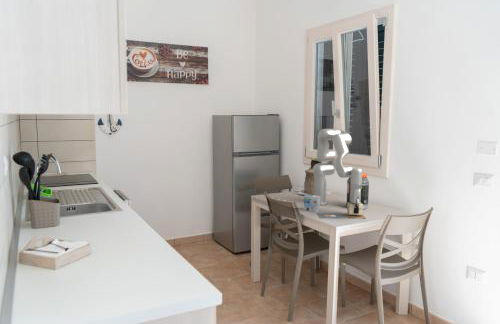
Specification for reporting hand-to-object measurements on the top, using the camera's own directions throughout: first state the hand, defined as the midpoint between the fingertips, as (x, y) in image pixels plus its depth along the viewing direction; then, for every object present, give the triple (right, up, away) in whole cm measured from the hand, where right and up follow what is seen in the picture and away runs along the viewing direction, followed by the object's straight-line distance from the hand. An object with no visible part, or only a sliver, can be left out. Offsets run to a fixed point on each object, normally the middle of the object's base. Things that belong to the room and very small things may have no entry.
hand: (354, 211), depth 266 cm
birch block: (0, -1, 0) cm, 1 cm away
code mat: (-17, -3, 0) cm, 17 cm away
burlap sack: (-16, +6, +74) cm, 76 cm away
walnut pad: (0, -3, 0) cm, 3 cm away
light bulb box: (-27, -1, +16) cm, 32 cm away
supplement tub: (+9, 0, +26) cm, 28 cm away
